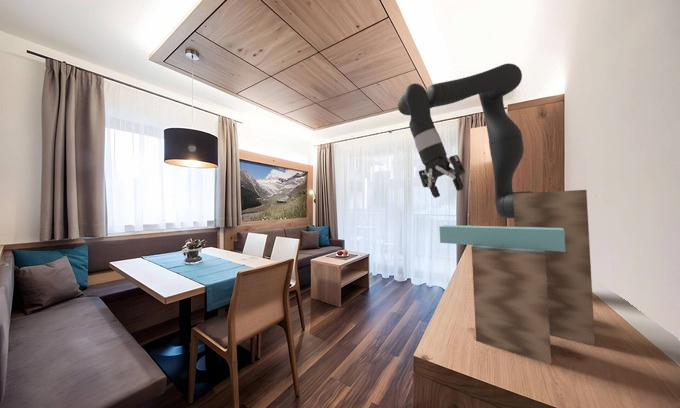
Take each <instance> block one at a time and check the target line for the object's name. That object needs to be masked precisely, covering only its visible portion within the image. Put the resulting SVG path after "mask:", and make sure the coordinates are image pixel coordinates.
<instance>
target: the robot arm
mask: <svg viewBox="0 0 680 408" xmlns="http://www.w3.org/2000/svg"><path fill="white" fill-rule="evenodd" d="M522 78H523V74H522V70H521V68H520V67H519V66H518V65H516V64H515V63H504V64H500V65H499V66H496V67H493V68H490V69H488V70H485V71H482V72H479V73H476V74H473V75H470V76H465V77H462V78H458V79H453V80H447V81H442V82H437V83H434V84H433V83H432V84H431V85H430V86H428V87H426V89H425V88H424V86H422V85H421V84H419V83H411V84H409V85H408V86H407V87H406V88H405V89H404V91H403V92H402V95H401V97H400V98H399V99H398V103H397V109H398V112H399V113H401V114H402V115H404V116H410V120H409V125H408V126H409V129H410V132H411V135H412V137H413V140H414V144H415V147H416V150H417V152H418V155H419V157H420V160H421V164H423V166H424V167H425V168H424V169H421V170H418V175H419V179H420V180H421V184H422V188H429V190H430V193H431V195H432V196H433V198H435V199H436V198H439V197H441V195H440V192H439V189H438V186H437V185H436V184H437V183H436V182H437V180H438V178H439V177H442V176H448V177H449V178H451V179H452V183H453V185H454V188H455V190H456V191H457V192H459V191H462V190H464V184H463V181H462V179H461V177H462V175H463V174H465V173H466V170H465V168H464V166H463V163H462V162H461V160H460V157H459V155H458V154H454V155H451V156H449V158H448V156H447V155H448V154H447V151H446V149H445V146H444V144H443V141H442V138H441V136H440V134H439V132H438V130H437V128H436V126H435V122H434V121H433V118H432V116H431V109H433V108H437V107H442V106H446V105H451V104H454V103H458V102H460V101H463V100H465V99H467V98H471V97H473V96H476V95H478V97H479V101H480V104H481V108H482V111H483V115H484V120H485V125H486V131H487V137H488V145H489V153H490V157H491V162H492V170H493V181H494V198H495V199H494V203H495V209H496V212H497V213H498V215H499V216H500V218H504V219H514V201H513V194H519V193H534V192H533V191H530V190H529V191H528V190H525V191H514V190H513V177H514V174H515V172H516V170H517V168H518V166H519V165H520V163H521V160H522V158H523V156H524V151H525V149H524V142H523V141H524V140H523V135H522V131H521V129H520V128H519V126H518V125H517V124H516V123H515V122H514V121H513V120H512V119H511V118H510V116H508V114H507V112H506V110H505V105H504V96H506V95H508V94H510V93H511V92H513V91H514V90H516V88H518V87H519V85H520V84H521V82H522ZM450 165H452V166H450ZM513 227H515V225H514V226H513Z"/></svg>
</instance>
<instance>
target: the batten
mask: <svg viewBox="0 0 680 408" xmlns="http://www.w3.org/2000/svg"><path fill="white" fill-rule="evenodd" d="M440 243H441V244H451V245H452V244H455V245H466V246H473V245H478V246H492V247H506V248H519V249H533V250H547V251H560V252H565V234H564V229H563V228H543V227H514V226H497V225H496V226H494V225H490V226H489V225H488V226H487V225H457V224H456V225H450V224H449V225H448V224H447V225H446V224H445V225H439V244H440Z"/></svg>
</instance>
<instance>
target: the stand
mask: <svg viewBox="0 0 680 408" xmlns="http://www.w3.org/2000/svg"><path fill="white" fill-rule="evenodd" d="M587 193H588V191H587V189H579V190H578V189H575V190H558V191H555V190H554V191H540V192H533V193H519V194H513V201H514V218H513V219H514V226H515V227H543V228H563V229H564V234H565V252H560V251H547V250H545V255H546V274H547V293H548V312H549V331H550V336H555V337H559V338H563V339H566V340H571V341H575V342H577V343H582V344H587V345H590V346H593V347H596V336H595V322H594V321H595V319H594V318H595V317H594V303H593V302H594V299H593V285H592V283H593V281H592V267H591V251H590V250H591V249H590V247H591V246H590V231H589V230H590V229H589V211H588V195H587Z"/></svg>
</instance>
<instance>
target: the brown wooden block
mask: <svg viewBox="0 0 680 408" xmlns="http://www.w3.org/2000/svg"><path fill="white" fill-rule="evenodd" d="M471 261H472V262H471V263H472V265H471V267H472V284H473V303H474V304H473V305H474V306H473V307H474V308H473V309H474V321H475V322H474V324H475V327H474V328H475V341H476V342H480V343H483V344H486V345H489V346H492V347H495V348H498V349H502V350H504V351H507V352H511V353H514V354H517V355H520V356H524V357H525V358H526V357H527V358H530V359H533V360H535V361H539V362H542V363H545V364H547V365H548V364H549V365H552V357H551V356H552V355H551V353H552V352H551V351H552V349H551V335H550V331H549V312H548V293H547V274H546V255H545V250H533V249H519V248H506V247H492V246H478V245H471Z"/></svg>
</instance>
